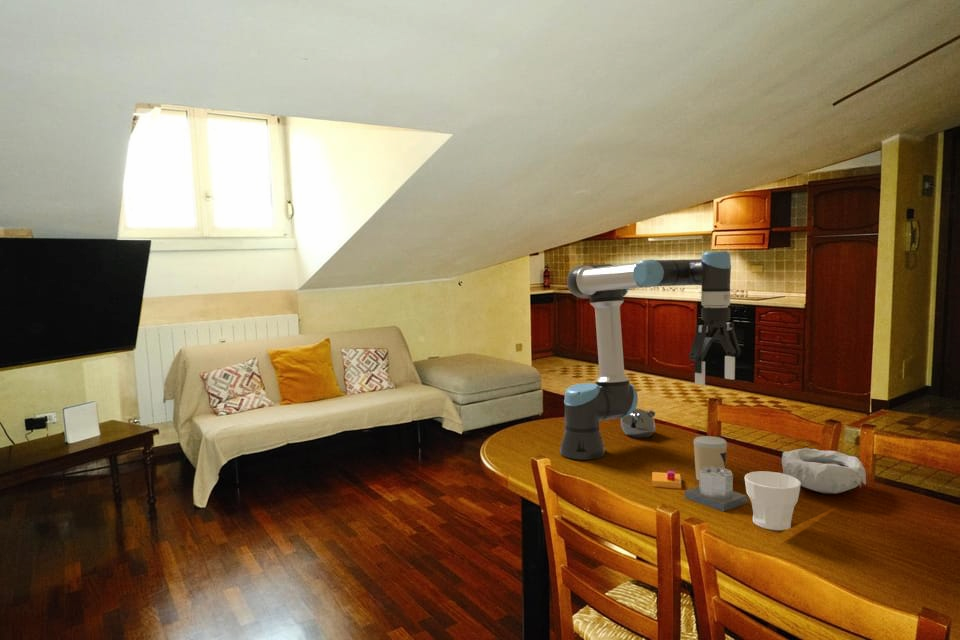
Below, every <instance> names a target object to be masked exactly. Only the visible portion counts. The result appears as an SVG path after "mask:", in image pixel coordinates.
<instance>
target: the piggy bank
mask: <svg viewBox="0 0 960 640" xmlns="http://www.w3.org/2000/svg"><path fill="white" fill-rule="evenodd" d="M655 415H656V412H655V411H654V410H644V409H642V408H639V407H636V409H635V410H634V411H633V413H632V414H631V415H629V416H625V417H622V418H620V425H621V429H622V431H623V432H624V434H625V436H629V437H633V438H634V439H636V438H637V439H642V438H643V439H644V438H649V437H650V436H652V435H653V433H655V432H656V423H655V419H654V417H655Z"/></svg>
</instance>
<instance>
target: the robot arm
mask: <svg viewBox="0 0 960 640" xmlns="http://www.w3.org/2000/svg"><path fill="white" fill-rule="evenodd" d="M731 269H732V263H731V254H730V252H729V251H727V250H720V251H719V250H718V251H717V250H716V251H715V250H713V251H712V250H711V251H704V252H702V254H701V258H697V259H645V260H640V261H637V262H629V263H622V264H610V263H607V264H606V263H605V264H602V263H601V264H580V265H577V266H575V267H573V268H572V269H571V270H570V271H569V273H568V275H567V277H566V286H567V288H568V291H569V292H570V294H572V295H573V296H575V297H577V298H580V299H589V304H590V305H591V306H592V307H593V308H594V312H595V313H594V314H595V316H594V317H595V328H596V345H597V356H598V357H597V358H598V372H599V374H598V375H599V376H598V377H597V378H596V379H595V383H593V382H586V383H577V384H573V385H570V386H569V387H567V388H566V390H564V391H565V392H564V400H563V404H564V433H563V437H562V440H561V444H560V446H559V454H560V455H561V456H563V457H565V458H568V459H572V460H595V459H601V457H603V456H605V453H606V452H605V451H606V450H605V448H606V447H605V445H604V442H603V439H602V436H601V432H600V422H602V421H607V420H613V419H621V418H622V417H625V416H629V415H631V414H632V413H633V411H634V410H635V409H636V408H638V407H637V406H638V402H639V401H638V400H639V396H638V392H637V390H636V388H635V385H633V384H631V383H630V378H629V377H627V376H626V374H625V365H624V364H625V363H624V351H623V350H624V349H623V336H622V322H621V305H622V304H623V303H624V301H625V300H624V296H626V295H627V294H628V293H629V290H630V289H637V288H652V287H653V288H654V287H655V288H656V287H673V286H674V287H676V286H678V287H679V286H683V287H684V286H701V296H700V297H701V299H700V300H701V301H700V302H701V306H703V307H701V310H700V311H701V315H700V316H701V317H700V318H701V320H702V321H704V324H697V325H696V329H695V336H694V338H693V341H692V345H691V349H690V352H689V355H688V359H689V360H690V361H693V363H694V366H693V367H694V371H693V372H694V384H695V385H698V386H705V385H706V361H704V359H705V357H706V356H707V353H708V351H709V349H710V347H711V346H712V343H714V342H715V341H719V343H720V345H721V347H722V348H723V351H724V352H725V353H726V355H725V356H724V379H726V380H731V381H732V380H734V381H735V379H736V377H735V376H736V373H735V372H736V357H737V358H738V357H740V354H741V346H740V345H739V341H738V339H737V338H738V337H737V335H736V332H735V323H734V322H731V321H730V319H731V308H730V307H729V306H730V305H731V277H732V276H731V274H732V273H731V272H732V270H731ZM729 321H730V322H729Z"/></svg>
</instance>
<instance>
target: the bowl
mask: <svg viewBox="0 0 960 640" xmlns="http://www.w3.org/2000/svg"><path fill="white" fill-rule="evenodd" d="M781 465H782V470H783V471H782V474H786V475H790V476H792V477H794V478H797V479H798V480H799V481H800V482H801V486H800V487H803V488H805V489H808V490H811V491H815V492H817V493H818V492H819V493H820V494H835V495H836V494H840V493H844V492H846V491H849V490H852V489H854V488H857V487H858V486H859V487H861V484H862V483H863V484H864V485H866V484H867V481H866V478H867V473H866V469H865V467H864V466H863V463H862V461H860V459H859V457H857V456H853V455H848V454H846V453H842V452H840V451H836V450H819V449H817V448H812V449H811V448H808V447H804V448H799V449H793V450H789V451H786V450H785V451H783V452H782V456H781Z"/></svg>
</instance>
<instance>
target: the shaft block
mask: <svg viewBox="0 0 960 640" xmlns="http://www.w3.org/2000/svg"><path fill="white" fill-rule="evenodd" d="M710 473H712V474H721V473H720V472H710ZM684 498H685V499H687V500H689V501H693V502H696V503H699V504H701V505H704V506H706V507H708V508H709V507H710V508H712V509H715V510H718V511H721V512H722V513H723V512H726V511H727V512H728V511H729V510H732V509H734V508H735V509H736V508H738V507H740V506H743V505H746V504H747V501H748V500H747V498H748V496H747V495H746V494H742V493H740V492H736V491H733V496H731V497H729V498H726V499H718V498H710V497H707V496H704V495H701V493H700V491H699V485H698V486H694V487H692V488H689V489H686V490H684Z"/></svg>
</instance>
